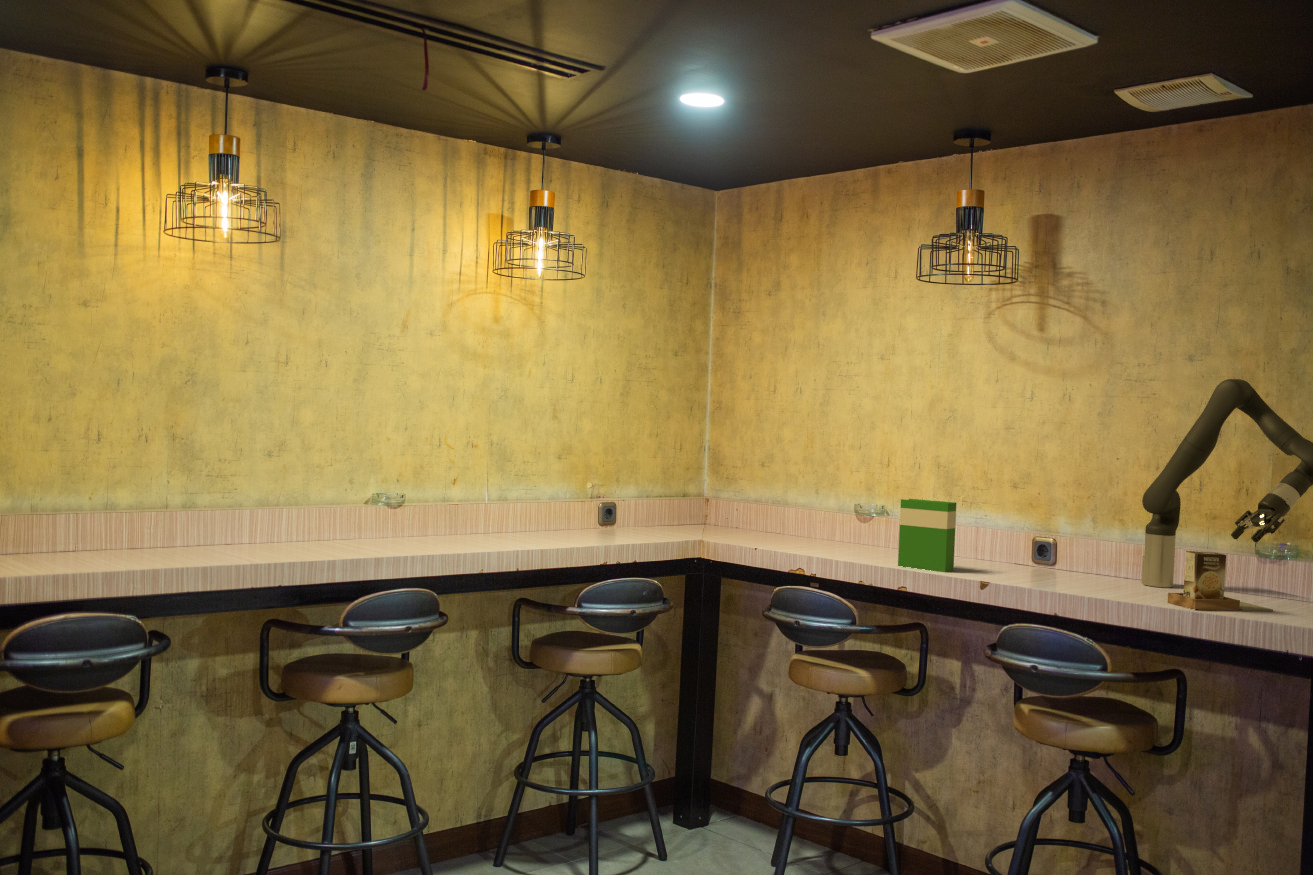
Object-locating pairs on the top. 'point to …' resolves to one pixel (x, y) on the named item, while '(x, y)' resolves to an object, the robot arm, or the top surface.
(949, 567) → the green cereal box
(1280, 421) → the robot arm
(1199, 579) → the coffee box
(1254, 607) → the rubber mat
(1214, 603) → the walnut cradle
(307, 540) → the top surface
